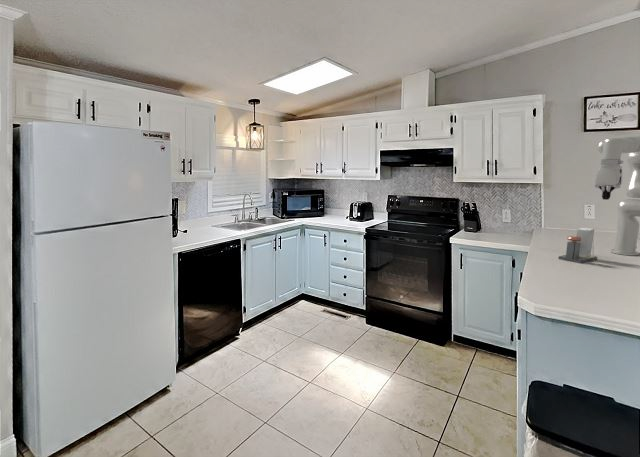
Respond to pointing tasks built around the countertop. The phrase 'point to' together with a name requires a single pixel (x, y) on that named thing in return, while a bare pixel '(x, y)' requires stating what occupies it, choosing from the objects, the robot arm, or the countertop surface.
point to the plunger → (574, 239)
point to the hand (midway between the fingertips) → (605, 199)
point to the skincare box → (585, 241)
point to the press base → (575, 254)
